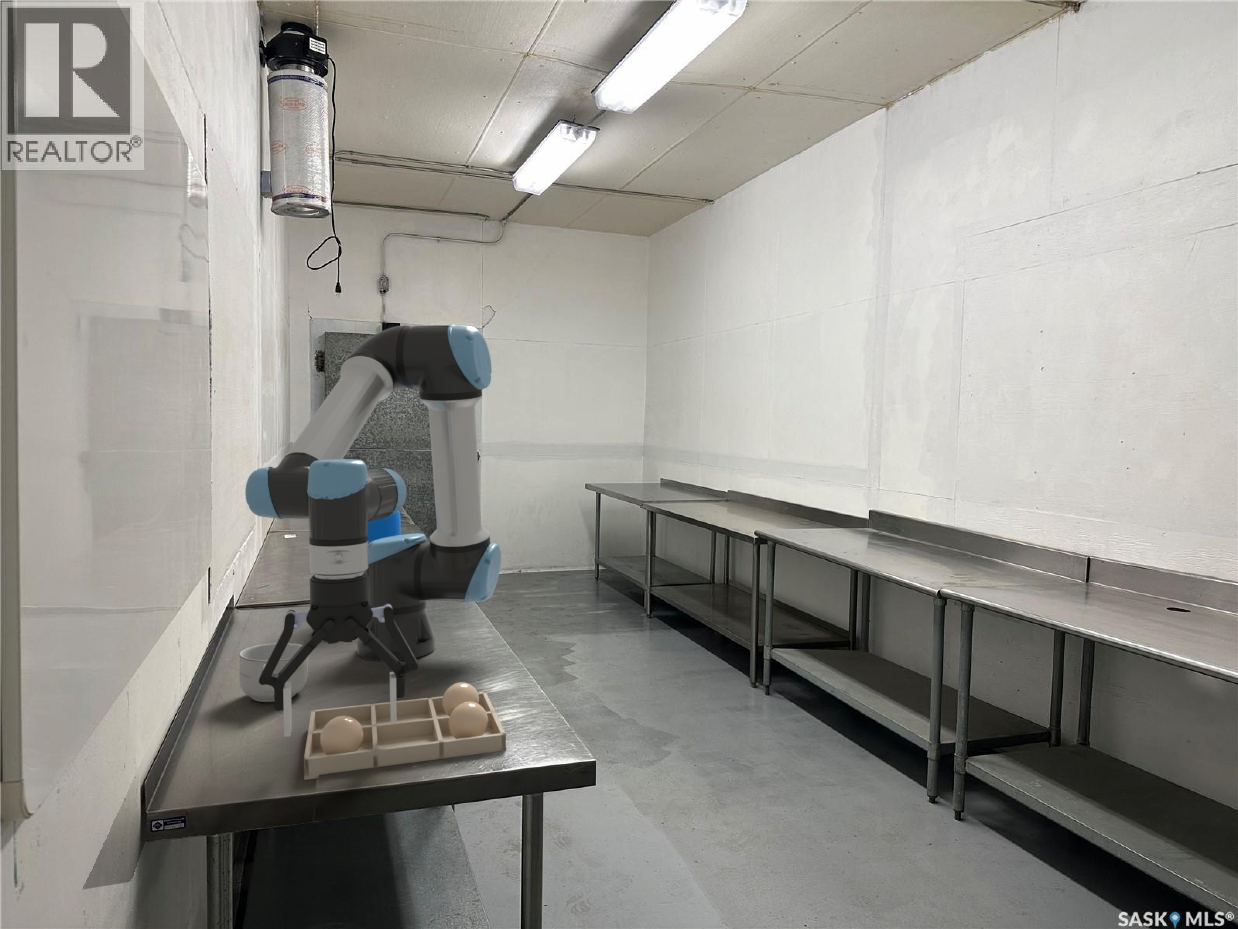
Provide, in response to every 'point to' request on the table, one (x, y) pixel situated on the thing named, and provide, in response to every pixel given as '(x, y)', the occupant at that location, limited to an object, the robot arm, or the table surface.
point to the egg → (341, 735)
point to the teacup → (255, 663)
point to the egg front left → (468, 720)
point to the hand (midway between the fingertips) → (341, 727)
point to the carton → (398, 736)
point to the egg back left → (459, 696)
